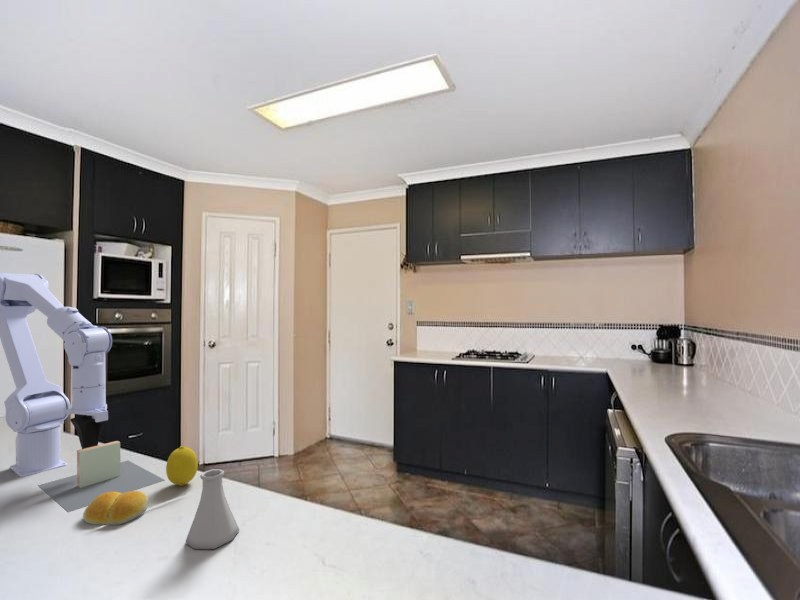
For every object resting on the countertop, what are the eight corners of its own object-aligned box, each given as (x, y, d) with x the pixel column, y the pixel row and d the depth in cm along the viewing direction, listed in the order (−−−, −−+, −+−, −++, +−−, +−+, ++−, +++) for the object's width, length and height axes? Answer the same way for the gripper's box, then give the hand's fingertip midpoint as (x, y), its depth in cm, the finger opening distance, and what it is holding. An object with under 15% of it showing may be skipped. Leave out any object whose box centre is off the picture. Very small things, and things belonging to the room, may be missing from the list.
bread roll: (136, 525, 70) (136, 501, 70) (75, 530, 68) (75, 505, 68) (156, 501, 78) (156, 480, 78) (103, 506, 77) (102, 483, 76)
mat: (38, 487, 84) (37, 485, 84) (128, 462, 97) (128, 460, 97) (68, 514, 73) (68, 512, 73) (165, 482, 86) (165, 480, 86)
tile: (77, 485, 83) (77, 450, 83) (117, 474, 89) (117, 440, 89) (79, 487, 83) (79, 451, 83) (120, 475, 88) (120, 442, 88)
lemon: (203, 481, 86) (203, 441, 86) (187, 493, 81) (186, 451, 81) (177, 480, 87) (177, 441, 87) (159, 492, 81) (159, 450, 81)
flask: (248, 529, 68) (247, 467, 68) (214, 555, 61) (213, 485, 61) (211, 522, 70) (211, 461, 70) (175, 546, 63) (175, 479, 63)
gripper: (54, 384, 90) (55, 448, 90) (78, 393, 81) (78, 464, 81) (93, 379, 96) (94, 439, 96) (119, 387, 87) (120, 453, 87)
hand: (89, 450), depth 89 cm, fingers closed
